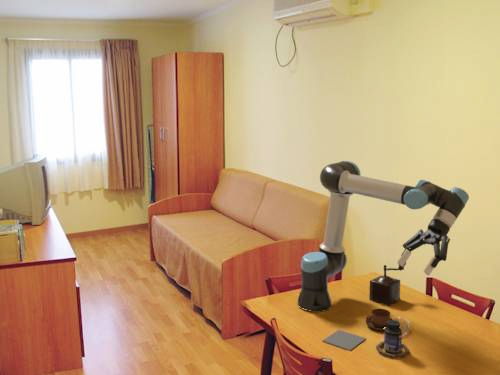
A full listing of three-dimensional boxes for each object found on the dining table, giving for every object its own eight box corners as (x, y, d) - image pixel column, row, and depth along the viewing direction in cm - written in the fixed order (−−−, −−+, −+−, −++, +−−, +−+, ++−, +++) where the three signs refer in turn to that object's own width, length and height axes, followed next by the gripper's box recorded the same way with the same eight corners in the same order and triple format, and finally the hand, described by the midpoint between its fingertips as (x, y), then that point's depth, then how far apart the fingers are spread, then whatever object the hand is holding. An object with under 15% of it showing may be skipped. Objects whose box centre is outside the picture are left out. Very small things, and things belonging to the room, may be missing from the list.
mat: (322, 341, 193) (322, 340, 193) (339, 330, 201) (339, 329, 201) (349, 351, 185) (349, 350, 185) (365, 339, 194) (365, 338, 194)
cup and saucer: (379, 335, 197) (379, 320, 196) (359, 324, 207) (359, 310, 206) (402, 328, 202) (402, 314, 201) (381, 318, 213) (382, 304, 212)
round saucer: (371, 351, 184) (371, 349, 184) (385, 340, 192) (385, 338, 192) (400, 361, 177) (400, 358, 176) (413, 349, 185) (413, 347, 185)
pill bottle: (402, 355, 181) (403, 326, 179) (384, 354, 182) (385, 325, 180) (400, 347, 187) (401, 319, 185) (383, 346, 188) (384, 318, 186)
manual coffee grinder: (390, 306, 224) (391, 267, 221) (368, 300, 232) (369, 262, 229) (407, 296, 235) (408, 259, 232) (385, 290, 242) (386, 254, 239)
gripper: (473, 235, 183) (443, 283, 179) (422, 224, 206) (395, 266, 201) (462, 223, 180) (432, 271, 176) (412, 213, 203) (384, 256, 198)
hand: (412, 269), depth 189 cm, fingers open, 13 cm apart
